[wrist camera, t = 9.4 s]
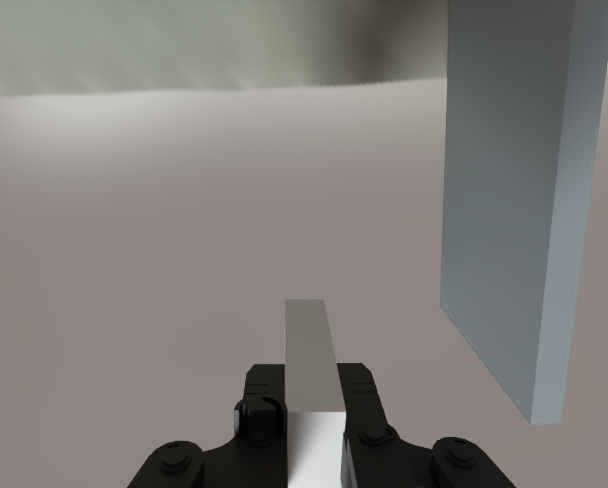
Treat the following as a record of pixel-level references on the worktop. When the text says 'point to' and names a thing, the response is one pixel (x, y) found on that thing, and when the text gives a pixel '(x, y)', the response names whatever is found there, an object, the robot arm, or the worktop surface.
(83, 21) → the worktop surface
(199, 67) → the worktop surface
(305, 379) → the robot arm
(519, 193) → the cabinet door
